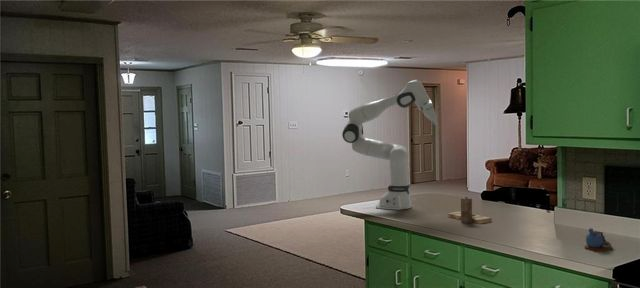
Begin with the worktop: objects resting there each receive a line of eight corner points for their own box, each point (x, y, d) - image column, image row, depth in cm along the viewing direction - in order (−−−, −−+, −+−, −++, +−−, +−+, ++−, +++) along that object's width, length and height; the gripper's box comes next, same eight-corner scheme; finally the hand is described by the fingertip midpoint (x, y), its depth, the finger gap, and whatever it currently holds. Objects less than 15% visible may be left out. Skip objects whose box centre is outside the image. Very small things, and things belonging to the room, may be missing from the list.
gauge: (466, 223, 282) (466, 197, 281) (461, 222, 286) (460, 196, 285) (477, 221, 286) (477, 195, 285) (472, 220, 289) (471, 195, 289)
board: (491, 221, 285) (491, 217, 285) (479, 223, 280) (479, 220, 280) (459, 214, 306) (459, 211, 306) (447, 216, 301) (447, 213, 301)
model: (600, 252, 219) (600, 230, 218) (579, 248, 227) (579, 227, 226) (617, 248, 225) (617, 226, 224) (596, 244, 233) (596, 223, 232)
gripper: (416, 105, 328) (426, 124, 330) (423, 108, 308) (434, 129, 310) (425, 100, 328) (435, 119, 330) (432, 103, 308) (443, 123, 310)
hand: (435, 124), depth 320 cm, fingers open, 8 cm apart
